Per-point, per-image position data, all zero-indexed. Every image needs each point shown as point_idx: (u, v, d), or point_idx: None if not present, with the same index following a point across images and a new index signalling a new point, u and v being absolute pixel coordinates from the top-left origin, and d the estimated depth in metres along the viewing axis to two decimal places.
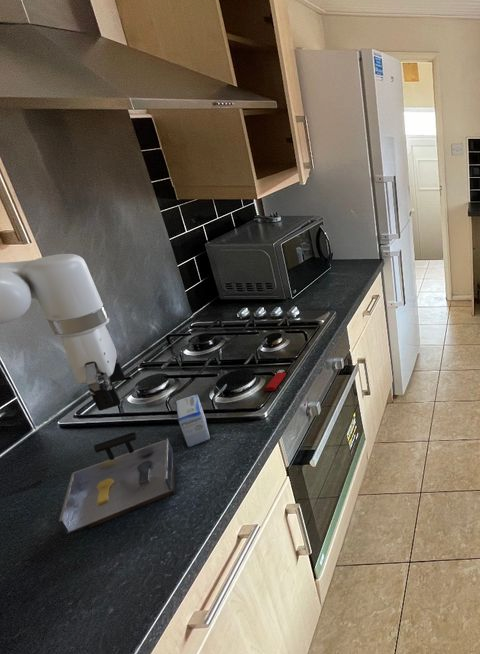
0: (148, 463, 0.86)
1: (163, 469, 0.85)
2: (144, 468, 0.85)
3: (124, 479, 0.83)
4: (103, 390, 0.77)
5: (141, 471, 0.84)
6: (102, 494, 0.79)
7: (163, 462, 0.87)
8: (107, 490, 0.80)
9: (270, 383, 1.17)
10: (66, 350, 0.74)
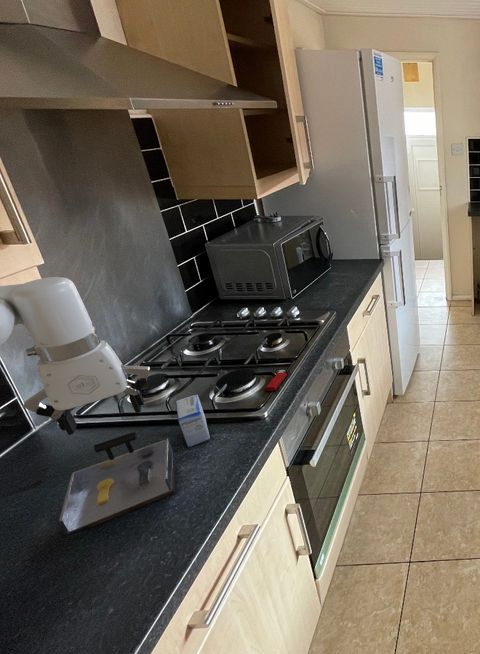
0: (148, 463, 0.86)
1: (163, 469, 0.85)
2: (144, 468, 0.85)
3: (124, 479, 0.83)
4: None
5: (141, 471, 0.84)
6: (102, 494, 0.79)
7: (163, 462, 0.87)
8: (107, 490, 0.80)
9: (271, 383, 1.17)
10: (109, 358, 0.76)
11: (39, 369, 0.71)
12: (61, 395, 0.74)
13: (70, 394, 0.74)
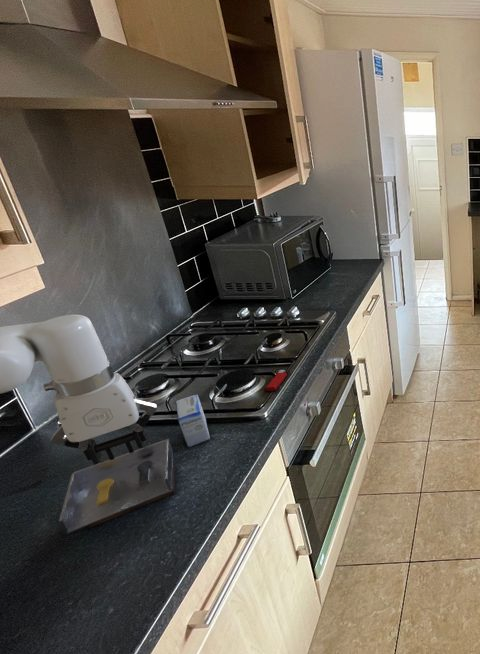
0: (148, 463, 0.86)
1: (163, 469, 0.85)
2: (144, 468, 0.85)
3: (124, 479, 0.83)
4: None
5: (141, 471, 0.84)
6: (102, 494, 0.79)
7: (163, 462, 0.87)
8: (107, 490, 0.80)
9: (271, 383, 1.17)
10: (123, 391, 0.79)
11: (56, 403, 0.74)
12: (76, 428, 0.76)
13: (85, 426, 0.77)
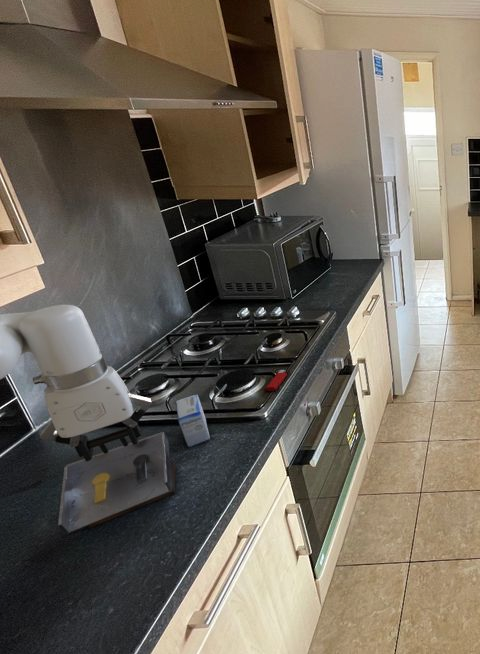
0: (144, 457, 0.84)
1: (160, 464, 0.84)
2: (140, 463, 0.83)
3: (120, 473, 0.82)
4: None
5: (138, 467, 0.83)
6: (99, 492, 0.78)
7: (160, 455, 0.85)
8: (104, 488, 0.79)
9: (271, 383, 1.17)
10: (116, 385, 0.76)
11: (46, 397, 0.71)
12: (67, 423, 0.73)
13: (76, 421, 0.74)
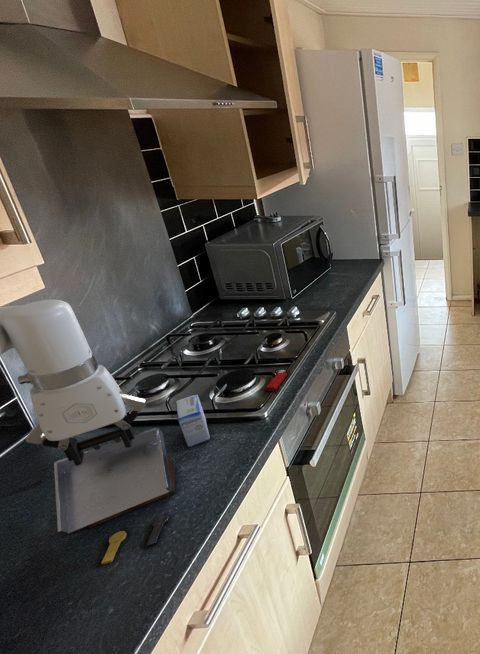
0: (164, 519, 0.80)
1: (157, 460, 0.82)
2: (158, 525, 0.79)
3: (114, 467, 0.80)
4: None
5: (154, 528, 0.78)
6: (109, 552, 0.74)
7: (155, 449, 0.83)
8: (116, 547, 0.75)
9: (271, 383, 1.17)
10: (107, 384, 0.72)
11: (32, 398, 0.67)
12: (55, 425, 0.69)
13: (65, 424, 0.70)
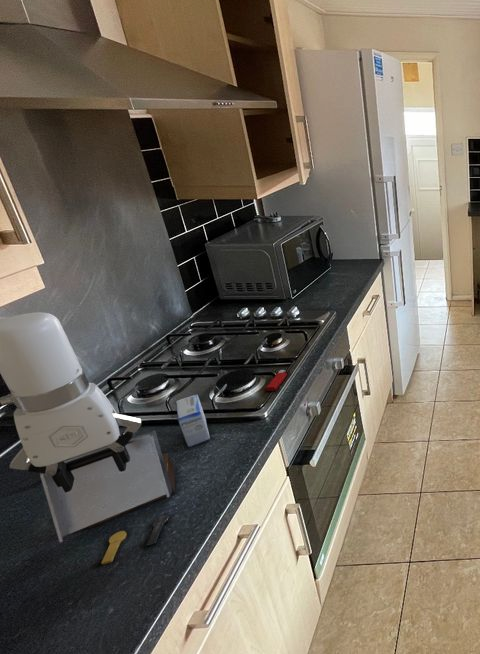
0: (164, 519, 0.80)
1: (153, 461, 0.80)
2: (158, 525, 0.79)
3: (107, 469, 0.76)
4: None
5: (154, 528, 0.78)
6: (109, 552, 0.74)
7: (149, 450, 0.80)
8: (116, 547, 0.75)
9: (271, 383, 1.17)
10: (99, 404, 0.66)
11: (16, 421, 0.61)
12: (42, 450, 0.63)
13: (52, 448, 0.64)
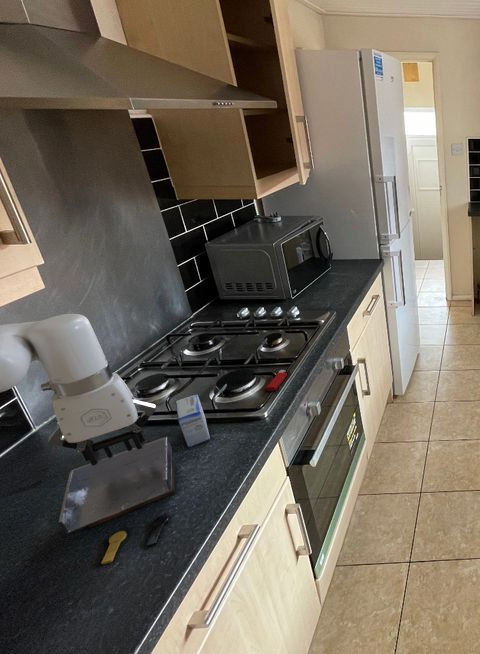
0: (164, 519, 0.80)
1: (162, 467, 0.85)
2: (158, 525, 0.79)
3: (123, 477, 0.82)
4: None
5: (154, 528, 0.78)
6: (109, 552, 0.74)
7: (162, 460, 0.86)
8: (116, 547, 0.75)
9: (271, 383, 1.17)
10: (121, 391, 0.78)
11: (53, 404, 0.73)
12: (74, 428, 0.75)
13: (83, 427, 0.76)
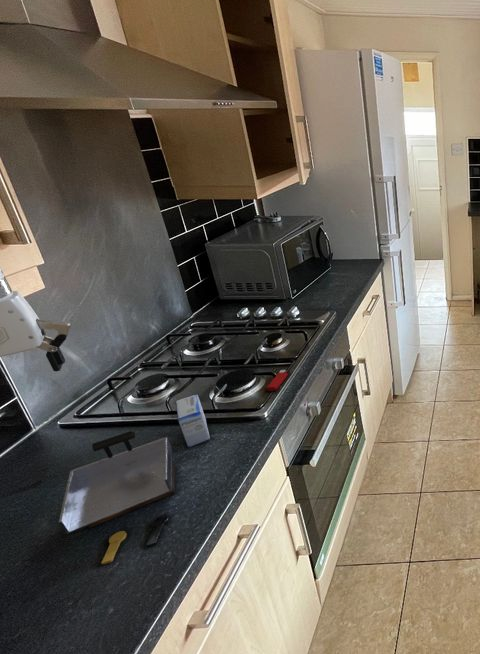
0: (164, 519, 0.80)
1: (162, 468, 0.85)
2: (158, 525, 0.79)
3: (123, 477, 0.82)
4: None
5: (154, 528, 0.78)
6: (109, 552, 0.74)
7: (162, 460, 0.86)
8: (116, 547, 0.75)
9: (271, 383, 1.17)
10: (20, 309, 0.71)
11: None
12: None
13: None
